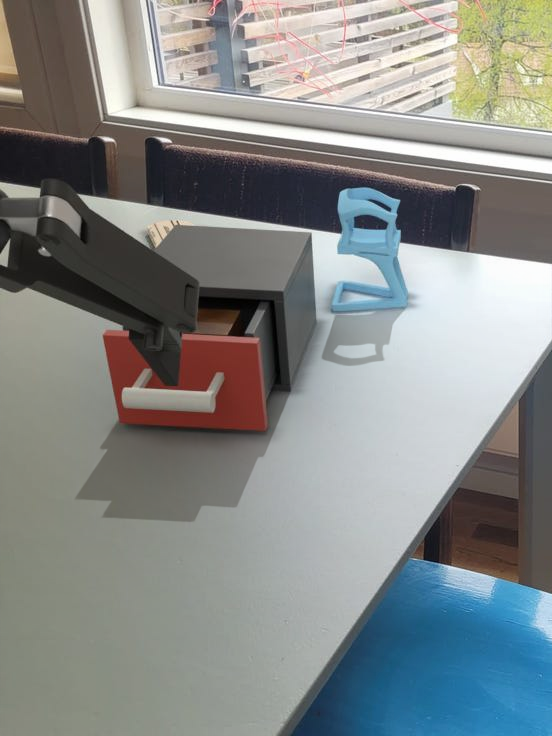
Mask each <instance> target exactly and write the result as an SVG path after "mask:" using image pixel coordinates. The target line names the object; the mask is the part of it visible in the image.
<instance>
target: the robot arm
mask: <svg viewBox="0 0 552 736" xmlns="http://www.w3.org/2000/svg"><path fill="white" fill-rule="evenodd" d="M8 243H9V244H8ZM7 244H8V245H9V246H8V256H7V266H5V265H3V264H1V263H0V289H2V290H4V291H7V292H8V293H9V292H10V293H14V294H16V293H17V294H18V293H20V292H22V291H24V290H25V289H29V290H32V291H34V292H36V293H39V294H41V295H44V296H47V297H49V298H52V299H54V300H57V301H60V302H62V303H65V304H67V305H70V306H71V307H75V308H77V309H80V310H82V311H84V312H87V313H89V314H92V315H94V316H97V317H99V318H102V319H104V320H106V321H109V322H112V323H114V324H117V325H119V326H121V327H123V326H124V327H127V328H129V340H130V341H131V343H132V344H133V345H134V347H135V348H136V349H137V350H138V352H139V353H140V354H141V356H142V357H143V358H144V359H145V361H146V362H147V363H148V365H149V366H150V367H151V368H152V370H153V371H154V372H155V374H156V375H157V376H158V378H159V379H160V380H161V381H162V383H163V384H164V385H165V386H178V382H179V370H180V357H181V347H182V335H183V333H192V332H195V331H196V324H197V311H198V299H199V286H200V283H199V281H198V280H197V279H195V278H194V277H192V276H191V275H189V274H188V273H186V272H185V271H183V270H182V269H180V268H179V267H177V266H176V265H174V264H172V263H171V262H169V261H168V260H166V259H165V258H163V257H162V256H160V255H159V254H157V253H156V252H154V250H153V249H151V248H150V247H148V246H147V245H146V244H144V243H142V242H141V241H139V240H138V239H136V237H135V238H134V236H131V235H130V234H129V233H127V232H126V231H125V230H123V229H121V228H120V227H118V226H117V225H115V224H114V223H112V222H111V221H109V219H106V218H105V217H103V216H102V215H100V214H99V213H97V212H95V210H93V209H91V208H90V207H89V206H88V205H87V204H86V203H85V202H84V200H83V199H82V198H81V197H80V195H79V194H78V193H77V192H76V191H75V189H73V187H72V186H71V185H69V184H68V183H67V182H65V181H63V180H62V179H61V180H60V179H58V178H52V177H47V178H44V179H42V180H41V182H40V190H39V197H9V195H7V193H6V192H5V191H4V190H2V189H1V188H0V255H1V254H2V253H3V251H4V249H5V248H6V246H7Z"/></svg>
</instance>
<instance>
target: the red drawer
mask: <svg viewBox="0 0 552 736" xmlns="http://www.w3.org/2000/svg"><path fill="white" fill-rule="evenodd" d="M274 301H275V300H257V299H239V298H221V297H203V296H199V299H198V308H202V309H220V310H239V311H241V318H242V328H243V337H232V336H214V335H195V334H183V335H182V347H181V357H180V370H179V382H178V386H165V385H164V384H163V383H162V381H161V380H160V379H159V378H158V376H157V375H156V374H155V372H154V371H153V370H152V368H151V367H150V366H149V365H148V363H147V362H146V361H145V359H144V358H143V357H142V356H141V354H140V353H139V352H138V350H137V349H136V348H135V347H134V345H133V344H132V343H131V341H130V340H129V328H127V327H124V326H122V329H121V330H119V329H106V330H105V331H104V332H103V334H102V341H103V345H104V351H105V355H106V360H107V365H108V371H109V375H110V381H111V386H112V391H113V396H114V401H115V406H116V411H117V417H118V421H119V424H129V425H146V426H149V425H150V426H164V427H165V426H166V427H167V426H168V427H183V428H185V427H186V428H202V429H203V428H205V429H220V430H221V429H223V430H224V429H225V430H241V431H242V430H243V431H258V432H265V431H266V430H267V427H268V426H269V423H268V421H269V420H268V412H267V403H266V402H267V400H268V399H269V396H270V393H271V391H272V390H271V389H272V386H273V384H274V381H275V379H276V377H277V374H278V372H279V369H280V366H279V354H278V342H277V329H276V317H275V305H274Z"/></svg>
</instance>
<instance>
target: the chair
mask: <svg viewBox="0 0 552 736" xmlns="http://www.w3.org/2000/svg"><path fill="white" fill-rule="evenodd" d="M371 200H373V201H377V202H379V203H381V204H384V205H385V206H387V207H388V208H390V211H388V210H387V209H385V208H383V207H381V206H380V205H378V204H376V203H374V202H373V201H371ZM400 203H401V199H397V198H393V197H391V196H388V195H387V194H384V193H383V192H381V191H378V190H376V189H373V188H371V187H355V188H354V187H353V188H346V189H342V190H341V191H340V192H339V194H338V202H337V213H338V217H339V221H340V226H341V229H342V230H341V234H340V237H339V240H338V242H337V244H336V247H337V252H336V253H337V255H350V256H351V255H354V256H356V257H359V258H363V259H365V260H368V261H370V262H372V263H373V264H374V265H375V266H376V267H377V268H378V269H379V271H380V273H381V274H382V277H383V278H384V280H385V282H386V284H387V286H388V287H386V286H385V287H384V286H379V285H375V284H369V283H361V282H355V281H349V280H339V281H338V282H337V284H336V287H335V291H334V294H333V298H332V302H331V310H332V311H333V312H348V311H349V312H350V311H361V310H362V311H363V310H373V309H375V310H376V309H387V308H406V307H408V301H407V299H409V291H408V288H407V285H406V280H405V278H404V275H403V272H402V268H401V264H400V262H399V261H400V260H399V257H398V255H399V248H400V243H401V239H402V238H401V237H402V235H401V234H402V232H401V231H402V230H401V229H397V225H396V220H397V218H398V215H399V214H398V213H397V212H398V208H399V205H400ZM365 215H367V216H372V217H375V218H378V219H380V220H383V221H384V222H386V223H387V226H386V228H385V229H369V228H360V227H359V228H358V227H355V218H356V217H360V216H365ZM344 290H352V291H356V292H362V293H367V294H372V295H377V296H382V297H386V298H375V299H366V300H356V301H355V300H353V301H345V302H343V301H342V302H340V301H341V299H342V294H343V292H344Z"/></svg>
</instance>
